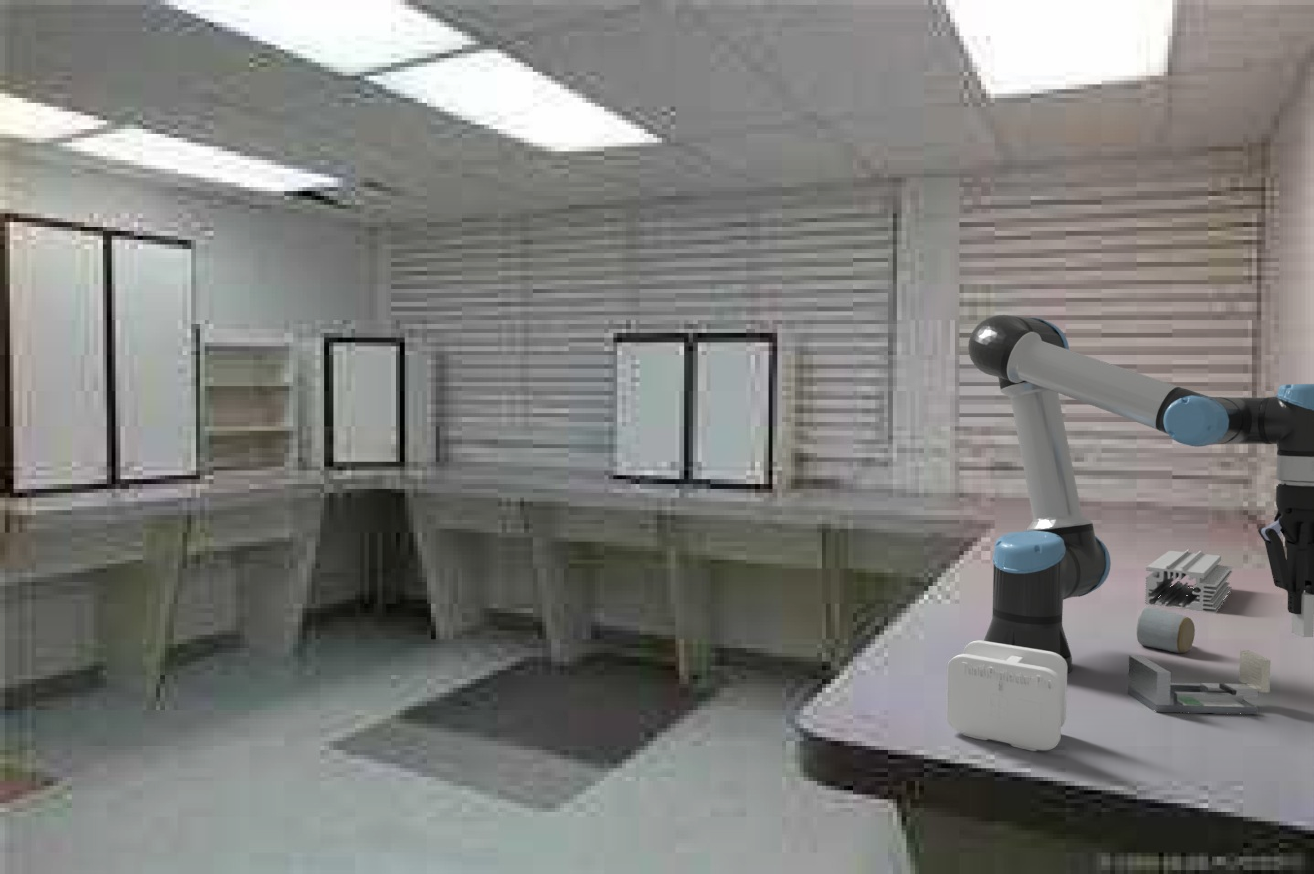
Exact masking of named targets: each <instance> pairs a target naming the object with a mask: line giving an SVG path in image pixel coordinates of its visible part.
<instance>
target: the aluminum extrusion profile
mask: <svg viewBox="0 0 1314 874" xmlns="http://www.w3.org/2000/svg"><path fill="white" fill-rule="evenodd" d="M1189 551H1190V549H1189V548H1188V549H1186V550H1185V551H1176V550H1168V551H1167V552H1165V553H1164V554H1162V555H1161V556H1160V557H1158V558H1157V559H1156V560H1154V561H1153V562H1151V563H1150V564H1149V565H1147V566H1146V567H1145V571H1147V572H1150V574H1149V575H1147V576H1145V593H1144V594H1145V595H1144V597H1145V598H1144V599H1145V600H1144V601H1145V602H1144V604H1145V605H1150V606H1156V605H1158V606H1159V607H1164V606H1165V608H1171V607H1172V608H1173V609H1179V608H1180V609H1179V610H1186V609H1189V610H1188V611H1194V610H1196V611H1195V612H1202V613H1211V614H1216V613H1217V612H1218V611H1219V610H1220V608H1221V607H1222V606H1221V605H1223V604H1224V603H1225V602H1226V600H1227V599H1226V598H1225V596H1226V595H1229V594H1230V595H1231V593H1232V592H1231V591H1232V590H1231V589H1232V588H1233V587H1232V586H1229V585H1230V582H1227V580H1228V579H1229V577H1230V576H1231V574H1232V573H1233V570H1232V569H1233V566H1228V565H1223V564H1222V565H1221V564H1219V563H1220V562H1221V561H1222V556H1221V555H1217V554H1216V555H1215V554H1207V553H1206V554H1205V553H1203V551H1202V550H1199V551H1198V552H1189ZM1186 576H1189V577H1188V578H1187V580H1188V581H1192V580H1193V579H1195V584H1194V585H1192V586H1193V588H1194V589H1193V588H1190V587H1189V588H1188V587H1187V586H1188V584H1189V582H1187V581H1186V582H1185V583H1184V584H1183V582H1181V580H1183V579H1184V578H1185V577H1186ZM1177 578H1178V581H1176V580H1177ZM1173 581H1176V582H1175V583H1173ZM1172 584H1174V585H1173V586H1171V585H1172ZM1170 586H1171V587H1170ZM1229 591H1230V592H1231V593H1230V592H1229ZM1228 592H1229V593H1228ZM1160 595H1161V596H1160ZM1186 595H1188V596H1186ZM1230 595H1229V596H1230ZM1159 596H1160V597H1159ZM1158 597H1159V598H1158ZM1224 598H1225V599H1226V600H1225V599H1224ZM1223 599H1224V600H1223ZM1223 602H1224V603H1223ZM1220 606H1221V607H1220ZM1218 609H1219V610H1218Z"/></svg>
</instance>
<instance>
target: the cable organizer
mask: <svg viewBox="0 0 1314 874" xmlns="http://www.w3.org/2000/svg"><path fill="white" fill-rule="evenodd" d="M946 668H947V673H946V674H947V675H946V710H945V711H946V713H945V714H946V715H945V717H946V718H945V720H946V722H947V724H948V725H949V726H950V728H951V729H953V730H955V731H956V732H959V733H961V734H962V735H963V736H965V737H968V738H973V739H976V740H982V741H988V740H992V741H997V742H1002V743H1006V744H1010V746H1011V747H1014V748H1018V749H1022V750H1027V751H1030V752H1037V751H1050V750H1053V749H1054V748H1056V747H1057V746H1058V744H1059V743H1060V741H1061V736H1062V733H1061V732H1062V727H1063V726H1064V724H1065V723H1066V720H1067V697H1068V694H1067V692H1068V673H1067V663H1066V661H1065V659H1064V658H1063V657H1062V656H1060V655H1059V654H1057V653H1054V652H1051V651H1044V650H1038V649H1032V648H1026V647H1019V646H1013V645H1007V644H1000V643H994V642H988V641H984V640H981V639H980V640H974V641H971V642H969V643H967V644H966V646H965V647H964V648H963V653H960V654H957V655H955V656H954V657H952V658H951V659H950V660H949V661H948V662H947V667H946Z"/></svg>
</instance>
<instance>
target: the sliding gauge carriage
mask: <svg viewBox="0 0 1314 874" xmlns="http://www.w3.org/2000/svg"><path fill="white" fill-rule="evenodd" d="M1239 654H1240V655H1239V673H1238V674H1239V675H1238V677H1239V678H1238V681H1239V682H1241V683H1223V682H1222V683H1216V682H1215V683H1214V682H1213V683H1210V682H1204V683H1203V682H1200V683H1199V684H1200V692H1208V693H1230V694H1231V695H1236V693H1240V694H1242V695H1244V699H1259V692H1260V693H1270V685H1271V683H1270V680H1271V659H1269V658H1267V657H1265V656H1263V655H1260V654H1258V653H1255V652H1254V651H1251V650H1249V649H1240V653H1239Z"/></svg>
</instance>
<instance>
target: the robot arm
mask: <svg viewBox="0 0 1314 874" xmlns="http://www.w3.org/2000/svg"><path fill="white" fill-rule="evenodd" d="M967 350H968V354H969V358H970V360H971V362H972V363H973V365H974V366H975V367H976V369H978V370H979V371H980V372H983V373H984V374H986V375H989V376H992V377H997V379H998V383H999V389H1000V393H1002V394H1003V395H1005V396H1006V397H1008V398H1009V399H1010V403H1011V407H1012V412H1013V418H1014V424H1015V427H1016V428H1015V429H1016V434H1017V435H1016V436H1017V439H1018V445H1019V450H1020V455H1021V461H1022V467H1023V472H1024V477H1025V482H1026V488H1027V493H1028V500H1029V504H1030V510H1031V514H1032V520H1031V523H1030V524H1029V526H1028V527H1027V528H1026V530H1024V531H1013V532H1012V531H1011V532H1008V533H1005V534H1003V535H1001V536H999V537H998V538H997V539H996V540H995V541H996V542H995V543H994V552H993V555H992V563H993V573H992V574H993V575H992V576H993V578H992V613H991V614H992V618H991V620H990V621H991V622H990V624H989V625H988V626H989V627H988V628H987V631H986V634H985V637H984V640H983V641H988V642H994V643H1000V644H1007V645H1013V646H1019V647H1026V648H1032V649H1038V650H1044V651H1051V652H1054V653H1057V654H1059V655H1060V656H1062V657H1063V658H1064V659H1065V661H1066V663H1067V674H1069V673H1070V672H1072V670H1073V657H1072V652H1071V650H1070V645H1069V643H1068V641H1067V640H1068V639H1067V637H1066V633H1065V629H1064V627H1063V609H1064V600H1066V599H1070V598H1076V597H1082V596H1083V597H1084V596H1086V595H1088V594H1090V593H1091V592H1093V591H1096V590H1098V589H1099V588H1100V587H1101V586H1102V585H1103V584H1104V583H1105V582H1106V581H1107V578H1108V577H1109V575H1110V572H1111V565H1112V562H1111V555H1110V553H1109V549H1108V548H1107V546H1106V544H1105V543H1104V542H1103V541H1102V540H1100V539H1099V538H1098V536H1096V534H1095V529H1094V524H1093V521H1092V520H1091V519H1089V518H1088V517H1087V516H1085V515H1084V514H1083V513H1082V509H1081V508H1082V507H1081V503H1080V498H1079V493H1078V487H1077V482H1076V478H1075V472H1074V467H1073V462H1072V458H1071V452H1070V447H1069V441H1068V437H1067V432H1066V431H1067V430H1066V427H1065V421H1064V416H1063V410H1062V406H1061V400H1060V396H1059V394H1060V395H1063V396H1065V397H1069V398H1071V399H1074V400H1076V401H1079V402H1081V403H1084V404H1086V405H1090V406H1092V407H1095V408H1098V409H1101V410H1103V411H1105V412H1106V411H1107V412H1108V413H1112V414H1114V415H1116V416H1117V415H1118V416H1120V417H1122V418H1125V419H1127V420H1130V421H1133V422H1135V423H1139V424H1140V425H1141V424H1142V425H1144V426H1147V427H1149V428H1152V429H1155V430H1157V431H1160V432H1162V433H1164V434H1167V435H1168V436H1169V437H1170V438H1171V439H1172V440H1174V441H1175V442H1177V443H1179V444H1182V445H1186V446H1189V447H1190V446H1191V447H1195V448H1197V447H1198V448H1199V447H1206V446H1210V445H1211V446H1213V445H1231V444H1237V445H1238V444H1240V445H1241V444H1242V445H1244V444H1245V445H1250V444H1251V445H1255V444H1256V445H1257V444H1258V445H1261V444H1263V445H1276V472H1275V475H1276V477H1275V479H1276V480H1277V481H1279V482H1280V483H1278V484H1277V485H1276V489H1275V491H1276V492H1275V493H1276V494H1275V505H1276V509H1277V513H1276V514H1275V516H1274V519H1273V521H1274V522H1271V524H1269V525H1267V526H1260V527H1259V528H1258V529H1257V532H1258V534H1259V535H1260V538H1262V540H1263V541H1264V545H1265V549H1266V553H1267V558H1268V561H1269V565H1270V566H1269V567H1270V570H1271V576H1272V580H1273V584H1274V586H1275V587H1278V588H1279V589H1282V590H1284V591H1286V592H1287V611H1288V613H1290V614H1291V633H1292V634H1295V635H1298V636H1301V637H1302V638H1313V637H1314V383H1295V384H1292V383H1291V384H1289V383H1288V384H1282V385H1280V386H1279V387H1278V391H1277V394H1276V396H1267V397H1236V396H1235V397H1229V396H1228V397H1227V396H1225V397H1223V396H1208V395H1204V394H1202V393H1199V392H1197V391H1193V390H1190V389H1187V388H1183V387H1181V386H1178V385H1175V384H1173V383H1170V382H1166V381H1162V380H1160V379H1156V378H1155V377H1151V376H1147V375H1144V374H1142V373H1140V372H1139V373H1138V372H1137V371H1133V370H1129V369H1127V368H1124V367H1121V366H1118V365H1115V364H1112V363H1109V362H1106V361H1104V360H1100V359H1097V358H1093V357H1091V356H1088V355H1085V354H1082V353H1079V352H1076V351H1073V350H1070V348H1069V342H1068V339H1067V337H1066V335H1065V334H1064V333H1063V331H1062V329H1060V328H1059V327H1058V326H1057V325H1055V324H1054V323H1052V322H1049V321H1046V320H1044V319H1042V318H1036V317H1024V316H1014V315H1008V314H1007V315H1006V314H999V315H994V316H990V317H988V318H986V319H984V320H982V321H981V322H980V323H978V324H977V326H976V327H975V328H973V331H972V332H971V334H970V336H969V340H968V349H967ZM1281 537H1284V544H1283V541H1282V538H1281ZM1284 546H1285V548H1286V552H1285V548H1284Z"/></svg>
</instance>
